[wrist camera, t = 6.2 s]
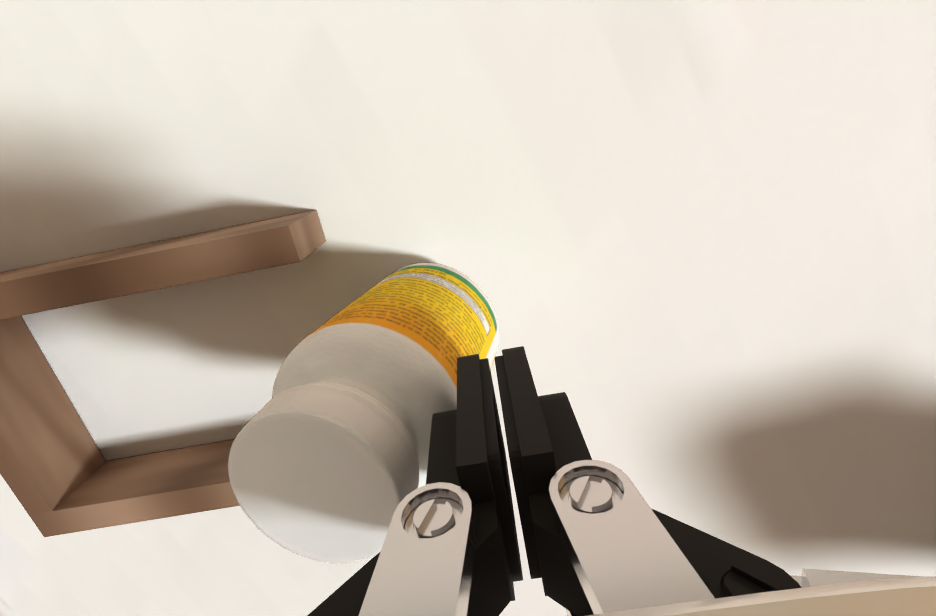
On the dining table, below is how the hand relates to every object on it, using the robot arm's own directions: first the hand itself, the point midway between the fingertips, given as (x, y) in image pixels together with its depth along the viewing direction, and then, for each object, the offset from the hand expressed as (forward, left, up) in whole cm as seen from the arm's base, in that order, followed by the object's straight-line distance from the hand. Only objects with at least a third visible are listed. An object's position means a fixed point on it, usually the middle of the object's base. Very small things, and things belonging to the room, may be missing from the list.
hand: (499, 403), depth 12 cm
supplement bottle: (+2, +1, -7) cm, 8 cm away
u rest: (+13, +1, -8) cm, 15 cm away
